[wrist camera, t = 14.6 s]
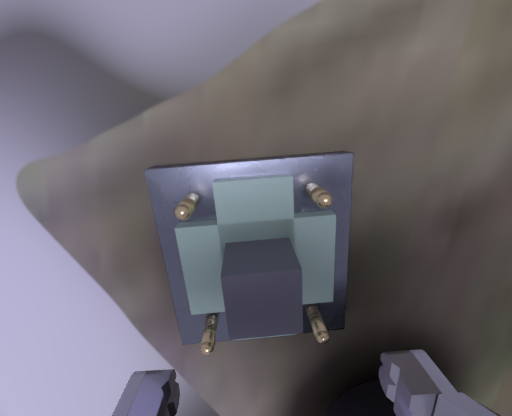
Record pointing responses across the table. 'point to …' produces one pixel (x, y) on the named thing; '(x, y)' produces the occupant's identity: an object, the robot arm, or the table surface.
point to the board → (255, 222)
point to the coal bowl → (365, 402)
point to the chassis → (203, 208)
